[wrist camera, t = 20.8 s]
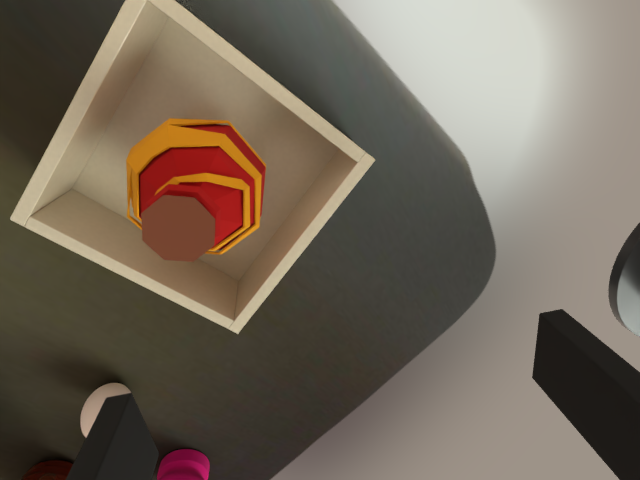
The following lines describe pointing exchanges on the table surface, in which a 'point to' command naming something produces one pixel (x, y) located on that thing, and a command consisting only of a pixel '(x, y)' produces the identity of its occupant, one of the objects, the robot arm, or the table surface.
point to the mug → (49, 470)
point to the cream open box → (186, 103)
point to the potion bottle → (194, 188)
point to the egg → (98, 403)
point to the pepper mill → (184, 466)
